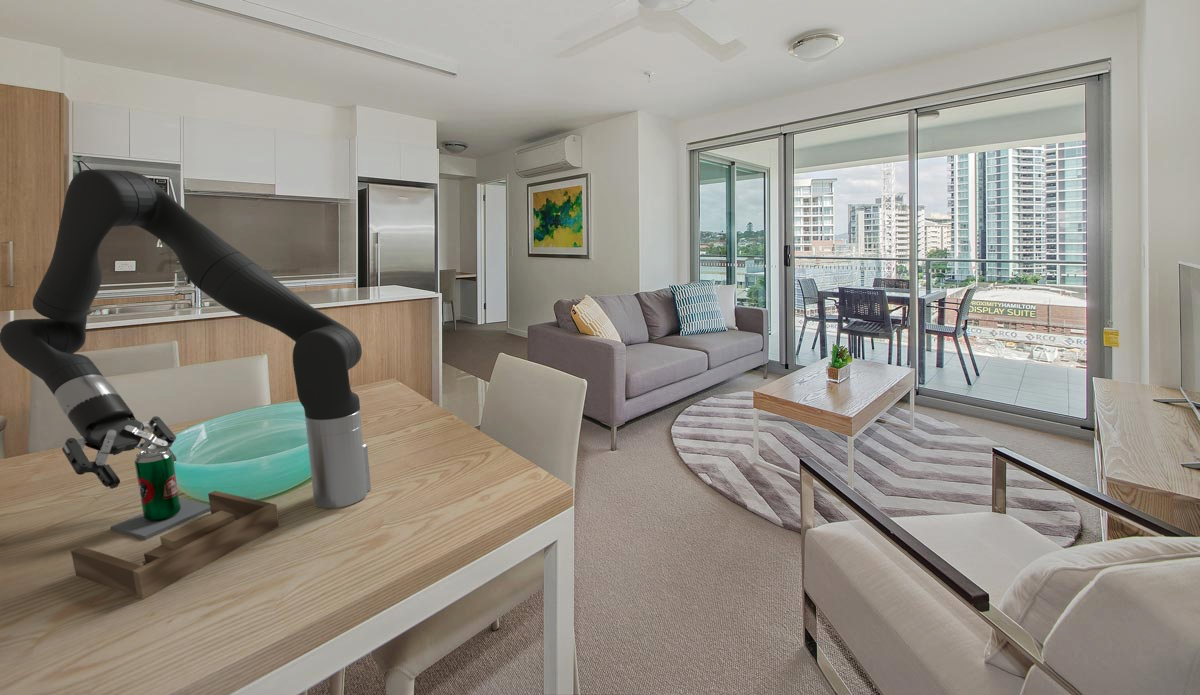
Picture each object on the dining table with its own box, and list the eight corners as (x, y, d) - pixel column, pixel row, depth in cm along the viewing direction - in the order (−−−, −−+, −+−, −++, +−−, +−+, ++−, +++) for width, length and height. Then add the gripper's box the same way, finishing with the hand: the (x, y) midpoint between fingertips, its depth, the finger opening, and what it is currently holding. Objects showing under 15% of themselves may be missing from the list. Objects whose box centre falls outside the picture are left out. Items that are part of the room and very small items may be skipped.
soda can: (175, 519, 90) (164, 455, 88) (138, 525, 88) (127, 459, 86) (185, 506, 95) (176, 444, 93) (151, 511, 93) (141, 448, 91)
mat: (181, 500, 98) (180, 498, 98) (213, 508, 95) (213, 505, 95) (111, 529, 88) (110, 526, 88) (145, 539, 85) (144, 536, 85)
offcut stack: (223, 529, 88) (220, 507, 87) (243, 534, 87) (239, 511, 86) (142, 569, 77) (137, 544, 76) (162, 576, 76) (158, 550, 75)
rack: (217, 511, 95) (215, 490, 94) (278, 525, 90) (276, 504, 89) (75, 575, 76) (70, 550, 75) (143, 599, 71) (138, 572, 70)
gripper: (47, 404, 85) (103, 480, 83) (147, 383, 98) (196, 449, 96) (34, 430, 87) (88, 505, 86) (133, 407, 101) (181, 471, 99)
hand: (145, 475), depth 91 cm, fingers open, 8 cm apart
